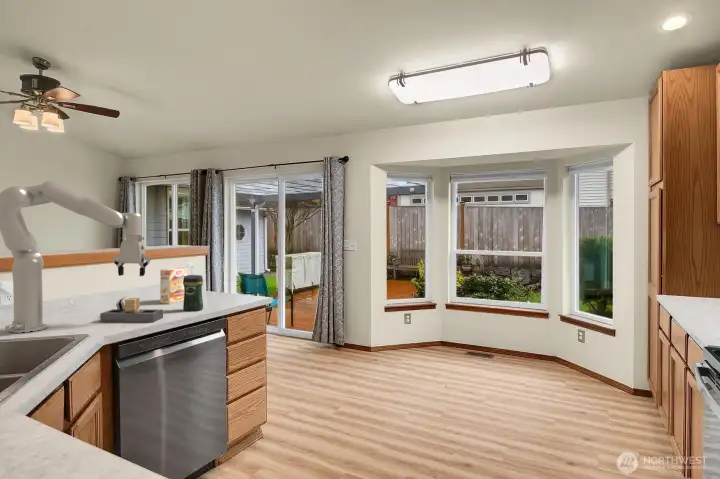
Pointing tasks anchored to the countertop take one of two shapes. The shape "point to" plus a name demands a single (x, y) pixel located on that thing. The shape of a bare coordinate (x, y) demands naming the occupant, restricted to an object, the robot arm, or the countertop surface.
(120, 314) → the rail
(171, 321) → the countertop surface
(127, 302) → the peg
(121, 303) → the hinge
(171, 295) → the coffeecake box
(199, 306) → the coffee jar
